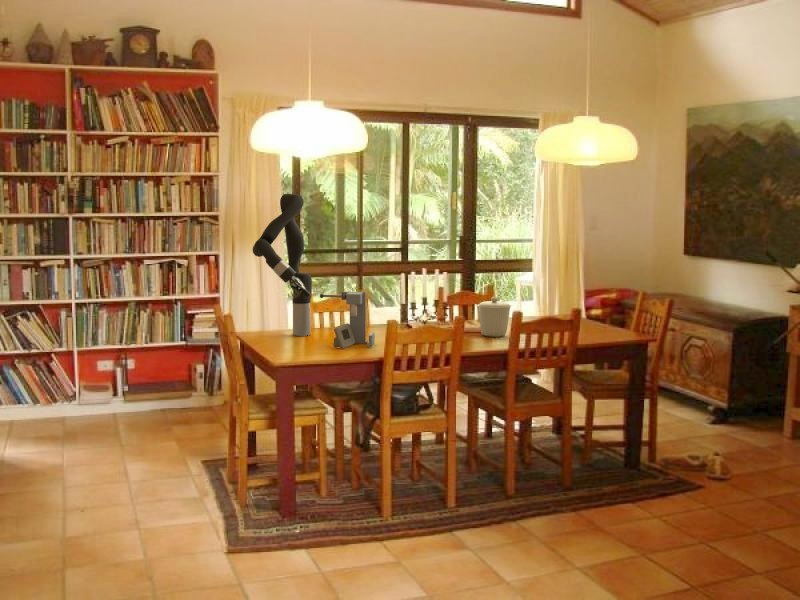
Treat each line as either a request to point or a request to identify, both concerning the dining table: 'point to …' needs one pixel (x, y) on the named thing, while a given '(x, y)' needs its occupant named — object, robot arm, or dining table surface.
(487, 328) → the canister
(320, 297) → the lever
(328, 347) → the dining table surface
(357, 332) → the press
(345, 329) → the digital clock
